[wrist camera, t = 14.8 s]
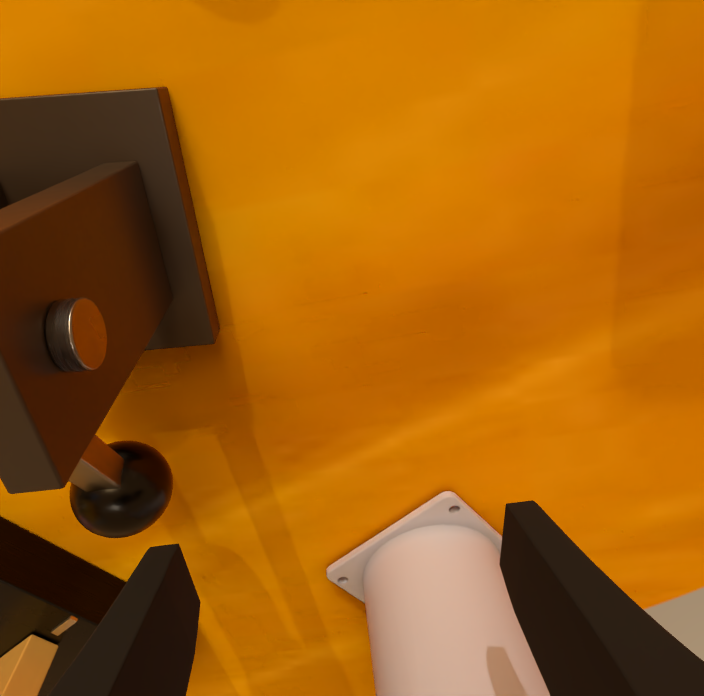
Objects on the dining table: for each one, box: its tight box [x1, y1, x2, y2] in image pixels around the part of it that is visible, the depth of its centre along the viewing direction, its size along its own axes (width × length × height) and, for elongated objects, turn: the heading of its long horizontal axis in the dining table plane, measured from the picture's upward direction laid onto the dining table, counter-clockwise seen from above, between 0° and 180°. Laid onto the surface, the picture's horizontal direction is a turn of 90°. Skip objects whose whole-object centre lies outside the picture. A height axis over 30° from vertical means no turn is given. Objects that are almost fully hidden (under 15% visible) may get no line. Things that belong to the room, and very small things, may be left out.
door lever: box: [68, 435, 173, 538], centre depth 13 cm, size 12×3×3 cm, turn 5°
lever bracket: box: [0, 87, 220, 494], centre depth 12 cm, size 8×7×10 cm
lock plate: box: [0, 517, 126, 696], centre depth 24 cm, size 12×9×3 cm
